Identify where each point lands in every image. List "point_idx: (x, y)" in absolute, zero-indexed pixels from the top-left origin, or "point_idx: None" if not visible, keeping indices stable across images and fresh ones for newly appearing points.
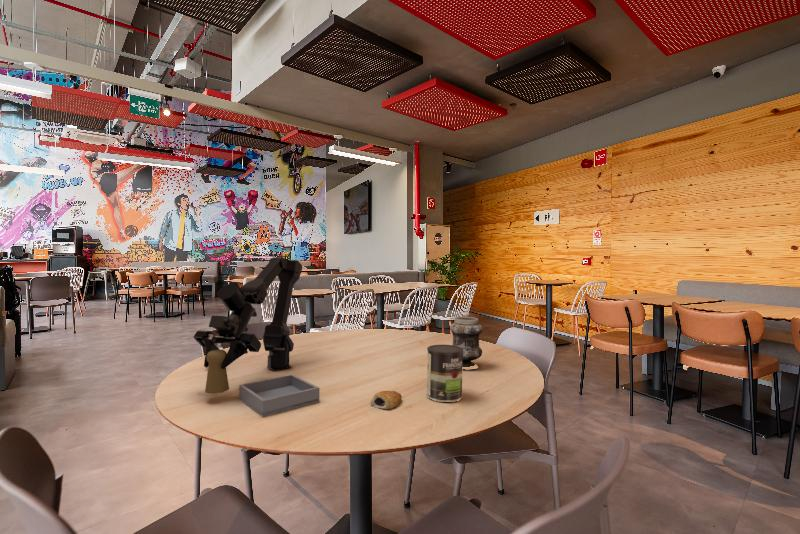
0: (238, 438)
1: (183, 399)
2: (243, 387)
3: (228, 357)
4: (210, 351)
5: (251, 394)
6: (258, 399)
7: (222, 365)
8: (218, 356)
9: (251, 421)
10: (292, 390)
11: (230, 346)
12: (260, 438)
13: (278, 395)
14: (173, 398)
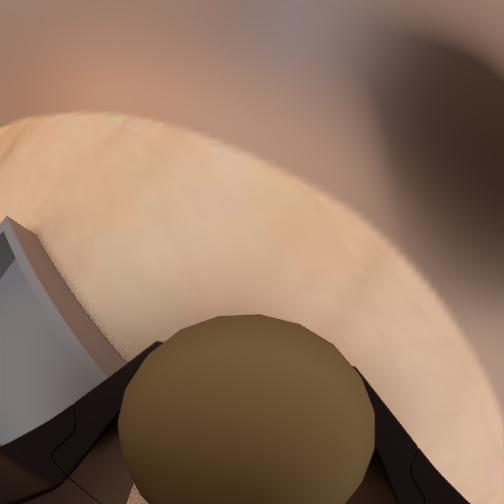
0: (73, 122)
1: (396, 358)
2: (98, 370)
3: (85, 396)
4: (340, 425)
5: (46, 289)
6: (20, 241)
7: (151, 347)
8: (163, 344)
9: (57, 202)
10: (10, 439)
11: (26, 487)
12: (37, 135)
13: (24, 393)
14: (434, 357)
